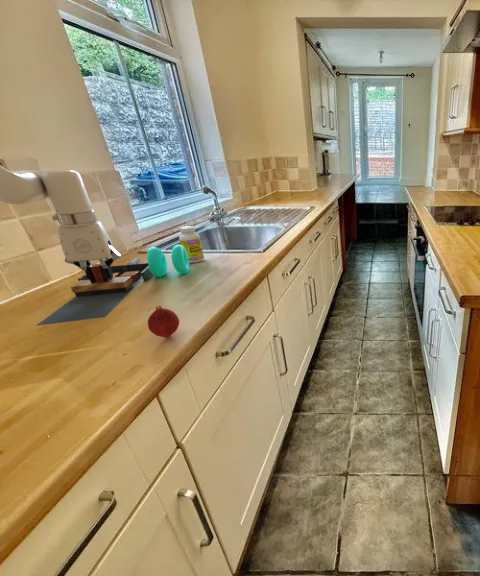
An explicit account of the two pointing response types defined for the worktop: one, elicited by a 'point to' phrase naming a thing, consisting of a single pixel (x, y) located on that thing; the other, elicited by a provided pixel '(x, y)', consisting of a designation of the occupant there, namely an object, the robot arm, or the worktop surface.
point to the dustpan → (130, 270)
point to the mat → (87, 307)
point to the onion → (163, 322)
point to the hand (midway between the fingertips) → (102, 280)
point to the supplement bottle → (191, 244)
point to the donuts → (160, 265)
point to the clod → (132, 275)
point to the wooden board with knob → (101, 284)
